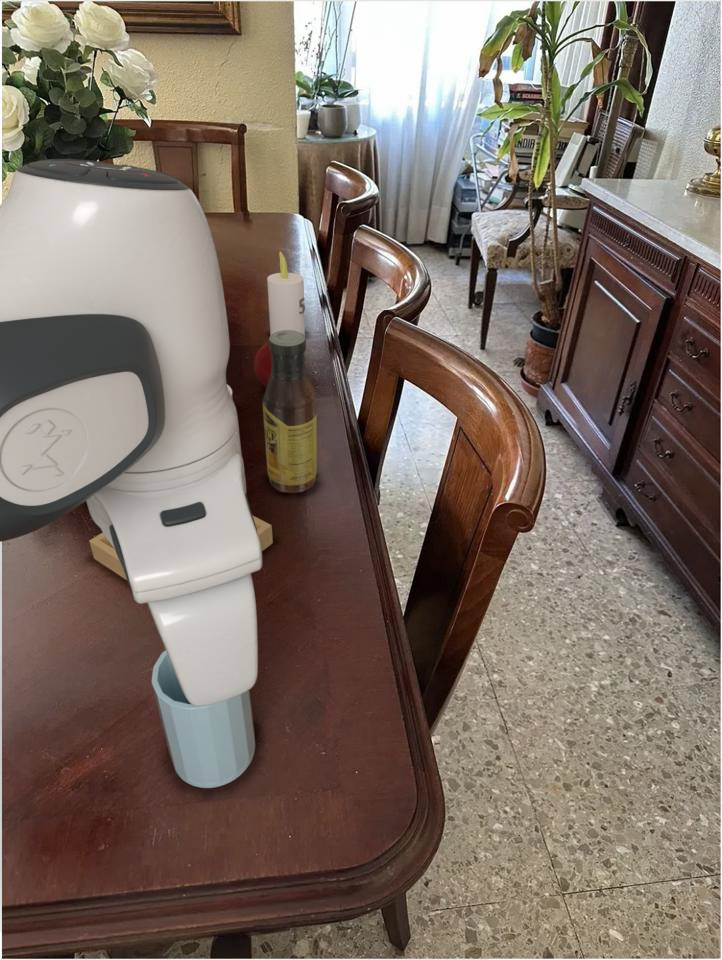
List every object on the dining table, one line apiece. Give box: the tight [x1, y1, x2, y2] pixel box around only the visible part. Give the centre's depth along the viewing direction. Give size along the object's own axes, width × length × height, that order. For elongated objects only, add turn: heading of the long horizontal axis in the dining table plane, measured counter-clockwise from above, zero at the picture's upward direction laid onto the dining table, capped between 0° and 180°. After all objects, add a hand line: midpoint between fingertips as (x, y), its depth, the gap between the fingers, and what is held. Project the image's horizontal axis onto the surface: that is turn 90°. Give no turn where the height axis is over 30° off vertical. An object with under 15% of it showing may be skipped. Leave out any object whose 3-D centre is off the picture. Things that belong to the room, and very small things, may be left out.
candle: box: [266, 251, 306, 337], centre depth 117 cm, size 6×6×15 cm
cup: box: [151, 649, 256, 789], centre depth 50 cm, size 7×7×10 cm
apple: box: [253, 341, 272, 389], centre depth 102 cm, size 8×8×8 cm
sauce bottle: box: [262, 330, 318, 494], centre depth 78 cm, size 7×6×20 cm
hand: (196, 634), depth 46 cm, fingers open, 8 cm apart
